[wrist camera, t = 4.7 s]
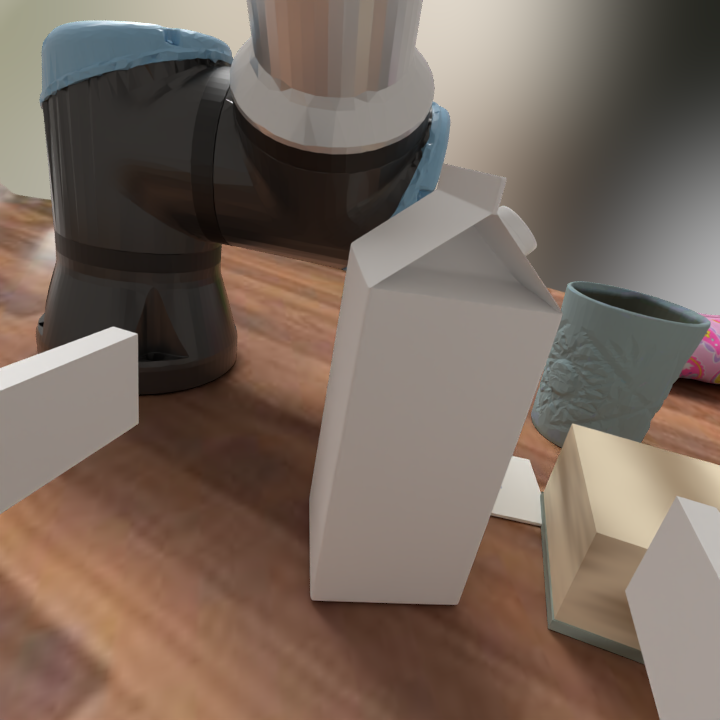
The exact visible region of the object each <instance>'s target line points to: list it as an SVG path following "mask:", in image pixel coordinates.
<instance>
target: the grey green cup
mask: <svg viewBox="0 0 720 720" xmlns="http://www.w3.org/2000/svg"><path fill="white" fill-rule="evenodd" d="M561 311H562V313H563V314H562V318H561V321H560V324H559V327H558V330H557V333H556V336H555V339H554V342H553V345H552V348H551V350H550V353H549V356H548V359H547V361H546V365H545V367H544V373H543V375H542V379H541V382H540V387H539V389H538V392H537V396H536V399H535V402H534V406H533V409H532V413H531V417H532V422H533V424H534V425H535V428H537V430H538V431H539V432H540V434H542V435H543V436H544V437H545V438H546V439H548V440H549V441H551V442H552V443H554V444H556V445H557V446H559V447H561V448H562V447H563V444H564V442H565V439H566V437H567V434H568V432H569V430H570V427H571V425H572V423H573V424H576V425H580V426H583V427H587V428H590V429H594V430H597V431H601V432H604V433H608V434H611V435H615V436H618V437H622V438H625V439H629V440H632V441H636V442H639V443H641V442H642V440H643V438H644V436H645V435H646V433H647V431H648V430H649V428H650V421H651V419H652V418H653V417H654V415H655V413H657V412H658V411H659V409H660V408H661V406H662V404H663V401H664V400H665V399H666V398H667V396H668V394H669V392H670V390H671V388H672V384H673V383H674V382H675V381H676V380H677V379H678V378H679V375H680V373H681V371H682V369H683V367H684V365H685V364H686V362H687V361H688V360H689V359H690V357H691V356H692V354H693V353H694V351H695V350H696V349H697V347H698V345H699V344H700V342H701V340H702V339H703V337H704V336H705V334H706V332H707V331H708V329H709V328H710V325H711V322H710V321H709V320H708V319H707V318H706V317H704V316H702V315H700V314H698V313H696V312H694V311H692V310H690V309H687V308H685V307H682V306H680V305H677V304H674V303H671V302H668V301H665V300H662V299H660V298H657V297H653V296H650V295H646V294H643V293H640V292H636V291H632V290H628V289H624V288H619V287H614V286H609V285H605V284H598V283H592V282H577V281H576V282H571V283H569V284H568V285H567V288H566V292H565V296H564V300H563V304H562V308H561Z"/></svg>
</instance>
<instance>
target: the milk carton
mask: <svg viewBox="0 0 720 720" xmlns="http://www.w3.org/2000/svg"><path fill="white" fill-rule="evenodd" d="M506 180H507V178H505V177H500V176H496V175H492V174H488V173H483V172H478V171H474V170H470V169H465V168H461V167H457V166H452V165H448V164H443V165H442V169H441V174H440V178H439V183H438V187H437V189H436V190H435V191H433V192H432V193H430V194H428V195H427V196H425V197H424V198H422V199H420V200H419V201H417V202H416V203H414V204H413V205H411V206H409V207H408V208H406V209H405V210H403V211H401V212H400V213H398V214H397V215H395V216H393V217H392V218H390V219H389V220H387V221H385V222H384V223H382V224H381V225H379V226H377V227H376V228H374V229H373V230H371V231H370V232H368V233H366V234H365V235H363V236H362V237H360V238H358V239H357V240H355V241H354V242H352V243H351V246H350V252H349V259H348V265H347V271H346V277H345V283H344V289H343V295H342V301H341V307H340V314H339V320H338V326H337V332H336V338H335V344H334V350H333V356H332V362H331V369H330V375H329V381H328V387H327V393H326V399H325V405H324V411H323V417H322V423H321V430H320V436H319V442H318V448H317V454H316V460H315V466H314V472H313V478H312V485H311V491H310V498H309V531H310V596H311V600H314V601H340V602H371V603H404V604H438V605H457V604H458V603H459V600H460V598H461V595H462V592H463V590H464V587H465V584H466V581H467V579H468V576H469V573H470V570H471V568H472V565H473V562H474V559H475V557H476V554H477V551H478V548H479V546H480V543H481V540H482V537H483V535H484V532H485V529H486V526H487V524H488V521H489V518H490V515H491V513H492V510H493V507H494V504H495V502H496V499H497V496H498V493H499V491H500V488H501V485H502V482H503V480H504V477H505V474H506V471H507V469H508V466H509V463H510V460H511V458H512V455H513V452H514V449H515V447H516V444H517V441H518V438H519V436H520V433H521V430H522V427H523V425H524V422H525V419H526V416H527V414H528V411H529V408H530V405H531V403H532V400H533V397H534V394H535V392H536V389H537V386H538V383H539V381H540V378H541V375H542V372H543V370H544V367H545V364H546V361H547V359H548V356H549V353H550V350H551V348H552V345H553V342H554V339H555V336H556V333H557V330H558V327H559V324H560V321H561V318H562V314H563V313H562V311H561V310H560V308H559V306H558V305H557V303H556V302H555V300H554V299H553V297H552V296H551V294H550V293H549V291H548V290H547V288H546V287H545V285H544V283H543V282H542V281H541V279H540V277H539V276H538V274H537V273H536V271H535V270H534V268H533V267H532V265H531V264H530V262H529V261H528V259H527V258H526V255H528V254H529V253H530V252H532V251H533V250H534V249H535V248H536V247H537V243H536V240H535V238H534V236H533V234H532V233H531V231H530V229H529V228H528V227H527V225H526V224H525V223H524V221H523V220H522V219H521V218H520V217H519V216H518V215H517V214H516V213H515V212H514V211H513V210H511V209H510V208H508V207H506V206H501V207H500V208H499V204H500V201H501V198H502V194H503V190H504V187H505V183H506Z"/></svg>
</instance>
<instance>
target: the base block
mask: <svg viewBox="0 0 720 720" xmlns="http://www.w3.org/2000/svg"><path fill="white" fill-rule="evenodd" d="M676 496H679V497H682V498H686V499H689V500H692V501H696V502H699V503H702V504H706V505H709V506H712V507H716V508H717V509H718V511H719V512H720V465H716V464H713V463H709V462H706V461H702V460H699V459H695V458H692V457H688V456H685V455H681V454H678V453H674V452H671V451H667V450H664V449H660V448H657V447H653V446H650V445H646V444H643V443H639V442H636V441H632V440H629V439H625V438H622V437H618V436H615V435H611V434H608V433H604V432H601V431H597V430H594V429H590V428H587V427H583V426H580V425H576V424H573V423H572V425H571V427H570V430H569V432H568V434H567V437H566V439H565V442H564V444H563V447H562V449H561V451H560V454H559V456H558V459H557V461H556V464H555V466H554V468H553V471H552V473H551V476H550V478H549V481H548V483H547V485H546V488H545V490H544V492H541V495H540V506H541V519H542V525H541V536H542V550H543V564H544V578H545V592H546V607H547V621H548V629H551V630H553V631H556V632H559V633H561V634H564V635H567V636H570V637H572V638H575V639H578V640H580V641H583V642H586V643H588V644H591V645H594V646H596V647H599V648H602V649H605V650H607V651H610V652H613V653H615V654H618V655H621V656H623V657H626V658H629V659H631V660H634V661H637V662H640V663H642V664H645V663H644V659H643V655H642V652H641V648H640V644H639V641H638V637H637V633H636V630H635V626H634V622H633V618H632V615H631V611H630V607H629V604H628V600H627V596H626V593H625V590H626V588H627V586H628V585H629V583H630V581H631V579H632V577H633V575H634V573H635V572H636V570H637V568H638V566H639V564H640V562H641V561H642V559H643V557H644V555H645V553H646V551H647V549H648V548H649V546H650V544H651V542H652V540H653V538H654V537H655V535H656V533H657V531H658V529H659V527H660V525H661V524H662V522H663V520H664V518H665V516H666V514H667V513H668V511H669V509H670V507H671V505H672V503H673V501H674V500H675V498H676Z"/></svg>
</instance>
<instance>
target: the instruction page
mask: <svg viewBox="0 0 720 720" xmlns="http://www.w3.org/2000/svg"><path fill="white" fill-rule="evenodd" d="M540 495H541V492H540V489H539V486H538V483H537V481H536V478H535V475H534V472H533V469H532V466H531V463H530V460H528V459H523V458H519V457H514V456H512V458H511V460H510V463H509V466H508V469H507V471H506V474H505V477H504V480H503V482H502V485H501V488H500V491H499V493H498V496H497V499H496V502H495V504H494V507H493V510H492V513H491V515H492V516H496V517H501V518H505V519H510V520H514V521H519V522H524V523H528V524H533V525H537V526H541V525H542V519H541V506H540Z"/></svg>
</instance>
